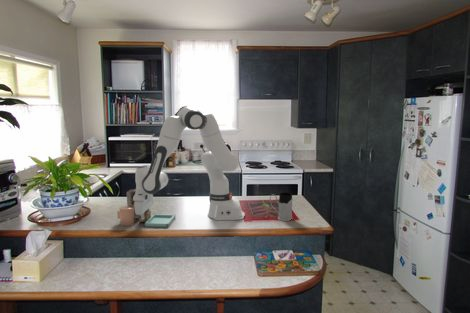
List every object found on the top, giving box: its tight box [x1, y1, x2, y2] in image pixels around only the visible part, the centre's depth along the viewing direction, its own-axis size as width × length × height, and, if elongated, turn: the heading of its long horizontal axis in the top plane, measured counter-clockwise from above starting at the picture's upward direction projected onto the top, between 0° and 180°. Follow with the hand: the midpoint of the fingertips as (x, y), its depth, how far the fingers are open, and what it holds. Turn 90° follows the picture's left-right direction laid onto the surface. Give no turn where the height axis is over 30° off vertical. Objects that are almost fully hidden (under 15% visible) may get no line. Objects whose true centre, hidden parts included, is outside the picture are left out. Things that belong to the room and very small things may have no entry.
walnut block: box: [138, 210, 152, 223], centre depth 187 cm, size 5×5×5 cm
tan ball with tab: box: [116, 205, 135, 227], centre depth 184 cm, size 9×8×9 cm
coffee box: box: [126, 188, 139, 219], centre depth 195 cm, size 9×6×16 cm
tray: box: [144, 213, 176, 228], centre depth 187 cm, size 13×16×2 cm
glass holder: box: [269, 192, 293, 222], centre depth 195 cm, size 9×14×15 cm, turn 64°
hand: (145, 217), depth 187 cm, fingers closed on walnut block, 5 cm apart
